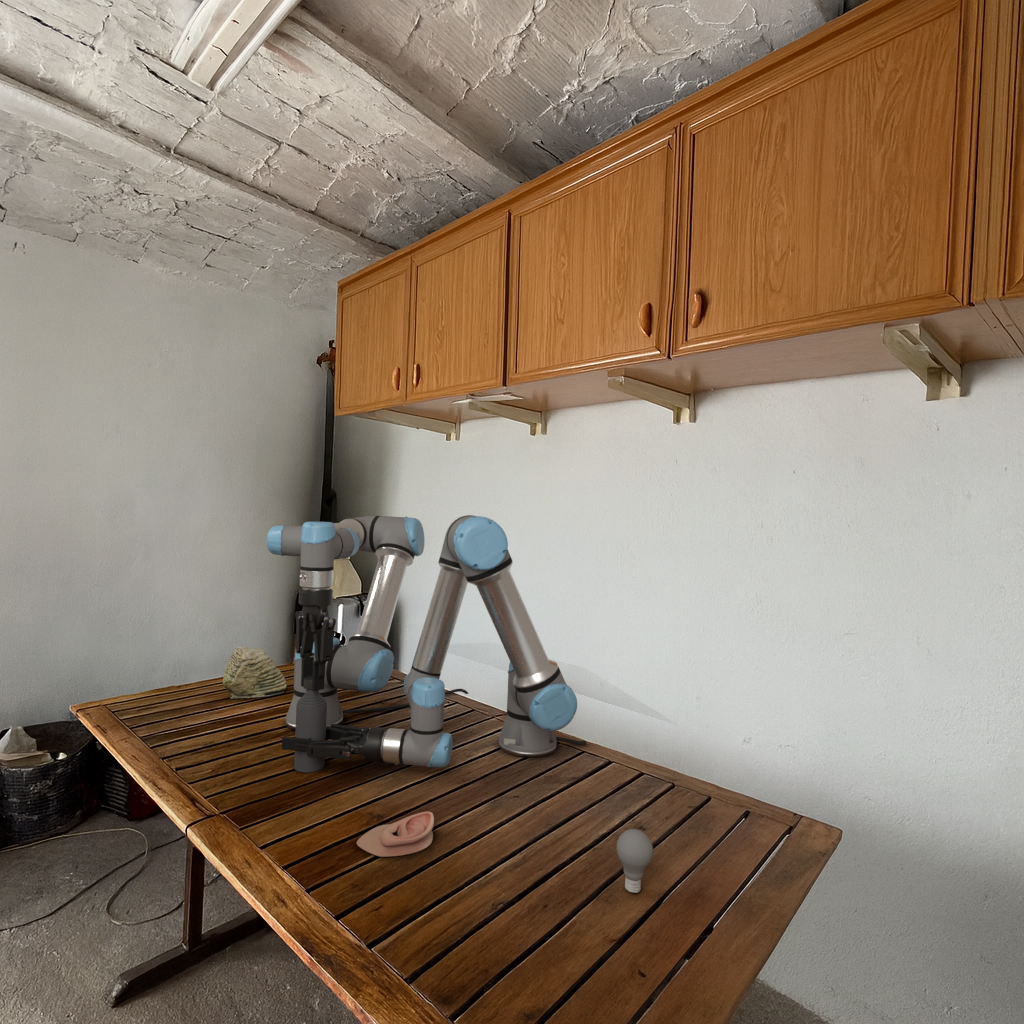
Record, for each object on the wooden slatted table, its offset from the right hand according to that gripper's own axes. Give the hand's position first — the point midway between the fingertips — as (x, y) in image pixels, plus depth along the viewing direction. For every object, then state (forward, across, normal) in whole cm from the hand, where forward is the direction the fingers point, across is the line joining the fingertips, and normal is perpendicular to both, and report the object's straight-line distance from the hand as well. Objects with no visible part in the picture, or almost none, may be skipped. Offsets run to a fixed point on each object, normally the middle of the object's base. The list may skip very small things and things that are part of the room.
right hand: (290, 737), depth 149 cm
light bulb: (-77, -35, -6) cm, 85 cm away
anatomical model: (-34, -28, -6) cm, 45 cm away
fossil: (+33, +46, -6) cm, 57 cm away
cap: (-5, 0, +14) cm, 15 cm away
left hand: (-5, 0, +12) cm, 13 cm away
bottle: (-5, 0, -6) cm, 8 cm away
